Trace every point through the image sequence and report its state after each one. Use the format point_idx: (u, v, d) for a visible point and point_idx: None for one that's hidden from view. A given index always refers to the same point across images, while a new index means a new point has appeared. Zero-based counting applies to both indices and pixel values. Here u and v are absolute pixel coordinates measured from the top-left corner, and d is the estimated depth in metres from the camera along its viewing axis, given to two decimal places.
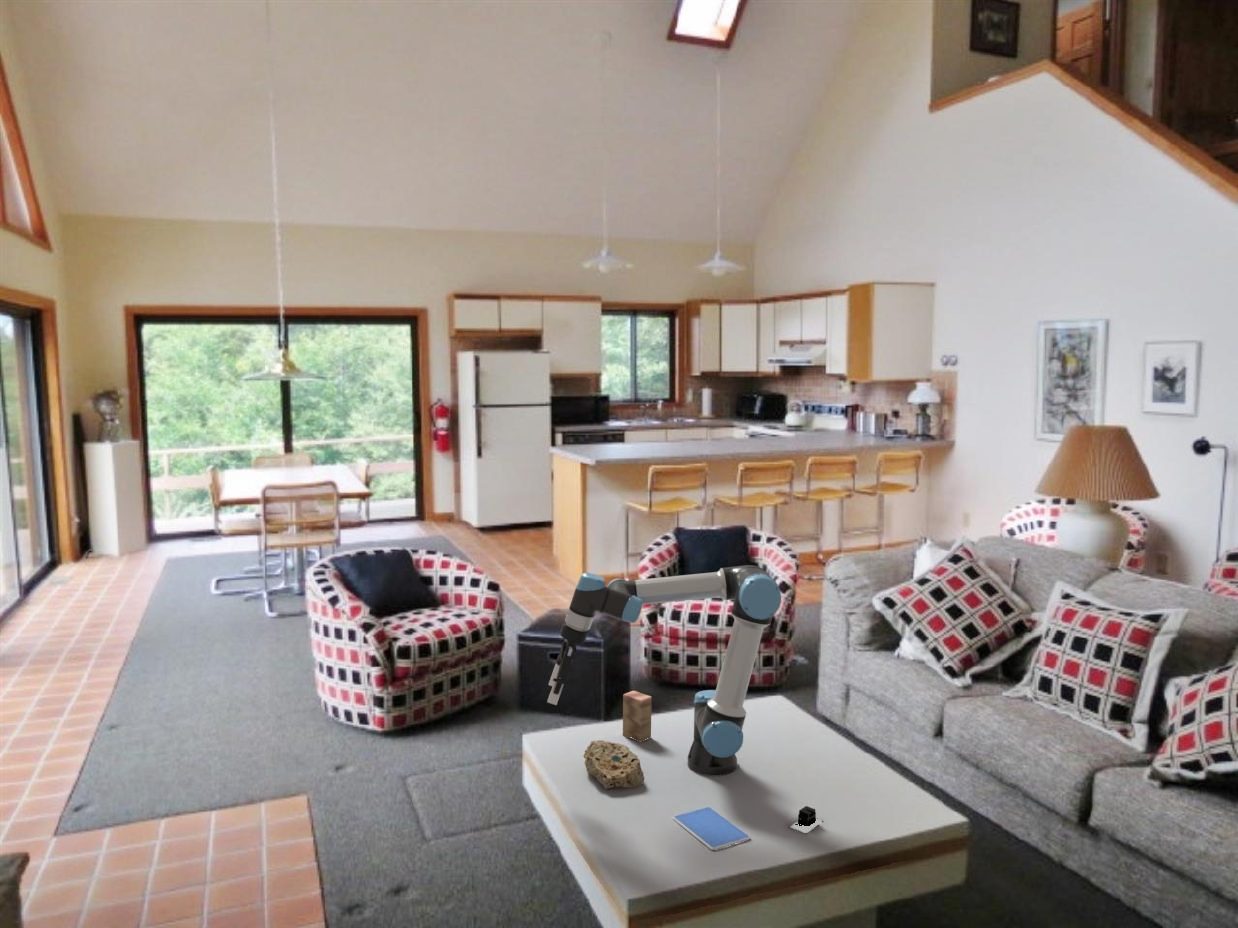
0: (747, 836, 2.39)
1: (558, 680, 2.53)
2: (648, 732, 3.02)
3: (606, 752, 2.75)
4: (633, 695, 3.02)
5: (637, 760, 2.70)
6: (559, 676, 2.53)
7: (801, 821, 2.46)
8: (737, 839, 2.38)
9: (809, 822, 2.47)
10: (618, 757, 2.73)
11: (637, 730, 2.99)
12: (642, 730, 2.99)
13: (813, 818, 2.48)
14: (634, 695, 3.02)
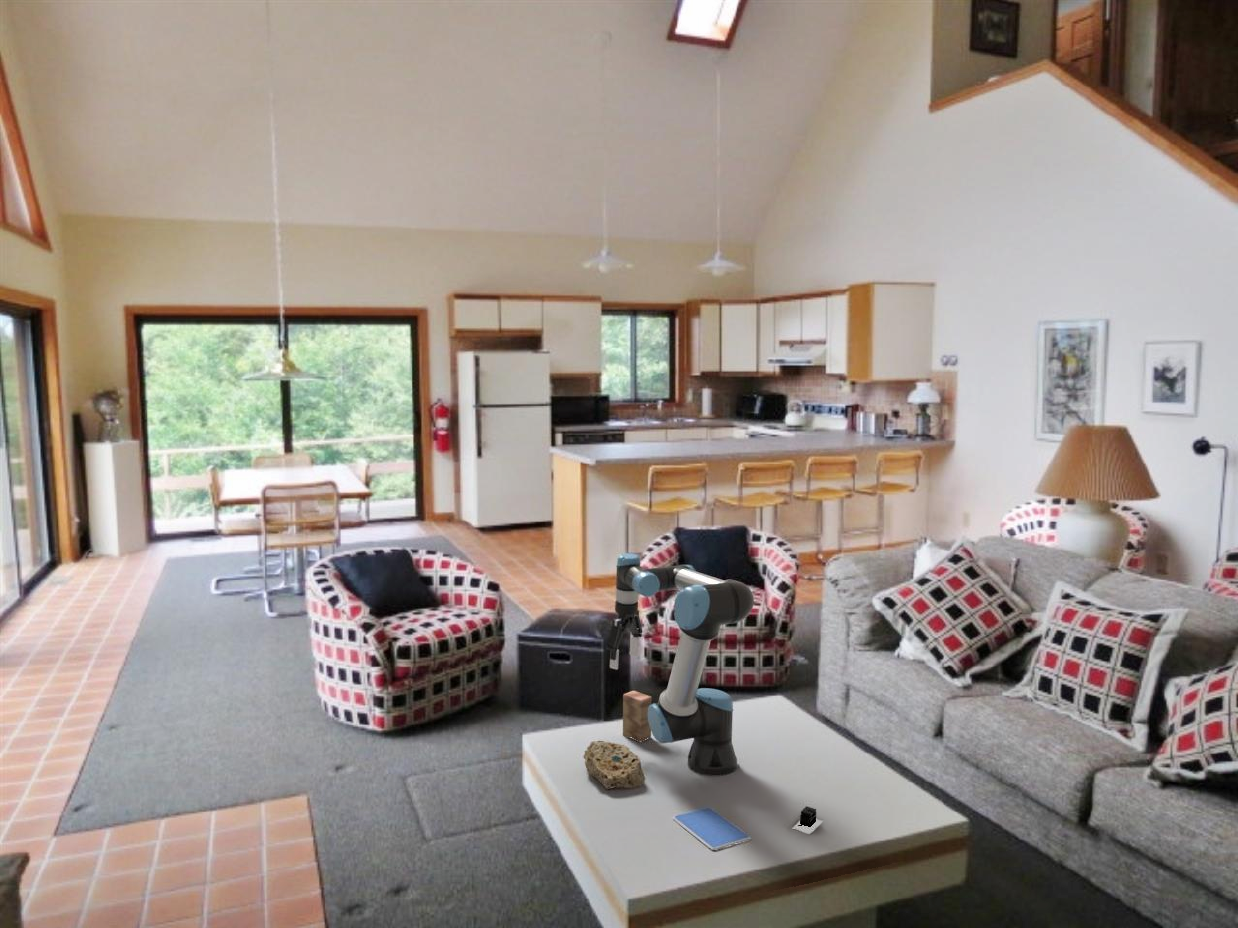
0: (747, 836, 2.39)
1: (607, 647, 2.96)
2: (648, 732, 3.02)
3: (606, 752, 2.75)
4: (633, 695, 3.02)
5: (638, 760, 2.70)
6: (608, 644, 2.96)
7: (803, 822, 2.46)
8: (737, 839, 2.38)
9: None
10: (619, 757, 2.72)
11: (637, 730, 2.99)
12: (642, 730, 2.99)
13: (814, 818, 2.48)
14: (634, 695, 3.02)
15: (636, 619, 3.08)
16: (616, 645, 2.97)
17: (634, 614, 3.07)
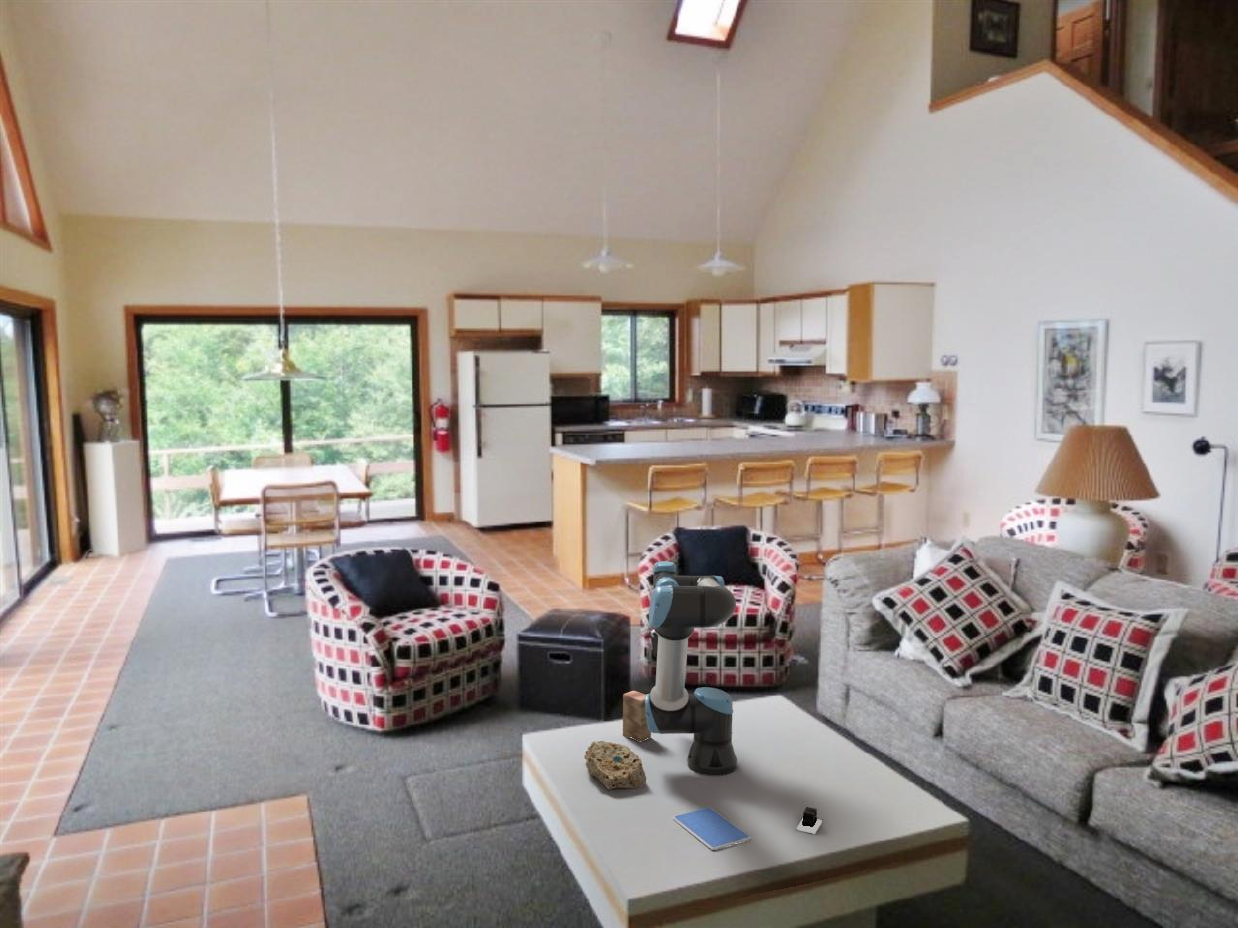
0: (747, 836, 2.39)
1: (654, 654, 3.08)
2: (648, 732, 3.02)
3: (607, 752, 2.74)
4: (633, 695, 3.02)
5: (639, 760, 2.70)
6: (654, 653, 3.08)
7: (806, 823, 2.45)
8: (737, 839, 2.38)
9: None
10: (620, 758, 2.72)
11: (637, 730, 2.99)
12: (642, 730, 2.99)
13: (814, 818, 2.48)
14: (634, 695, 3.02)
15: None
16: None
17: None
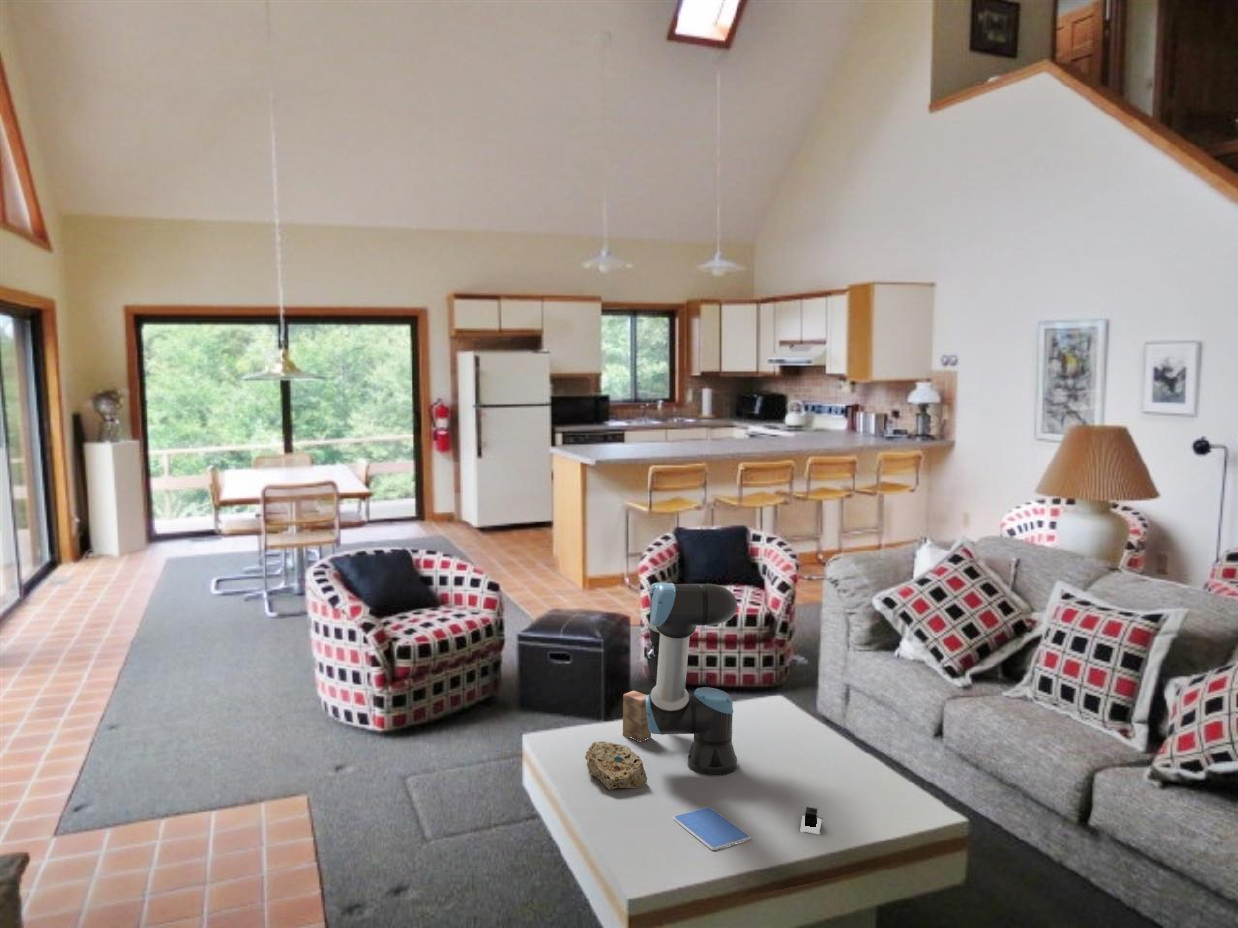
0: (747, 836, 2.39)
1: (651, 676, 3.07)
2: (648, 732, 3.02)
3: (608, 753, 2.74)
4: (633, 695, 3.02)
5: (640, 761, 2.70)
6: (650, 674, 3.07)
7: (808, 823, 2.45)
8: (737, 839, 2.38)
9: None
10: (621, 758, 2.72)
11: (637, 730, 2.99)
12: (642, 730, 2.99)
13: None
14: (634, 695, 3.02)
15: None
16: None
17: None
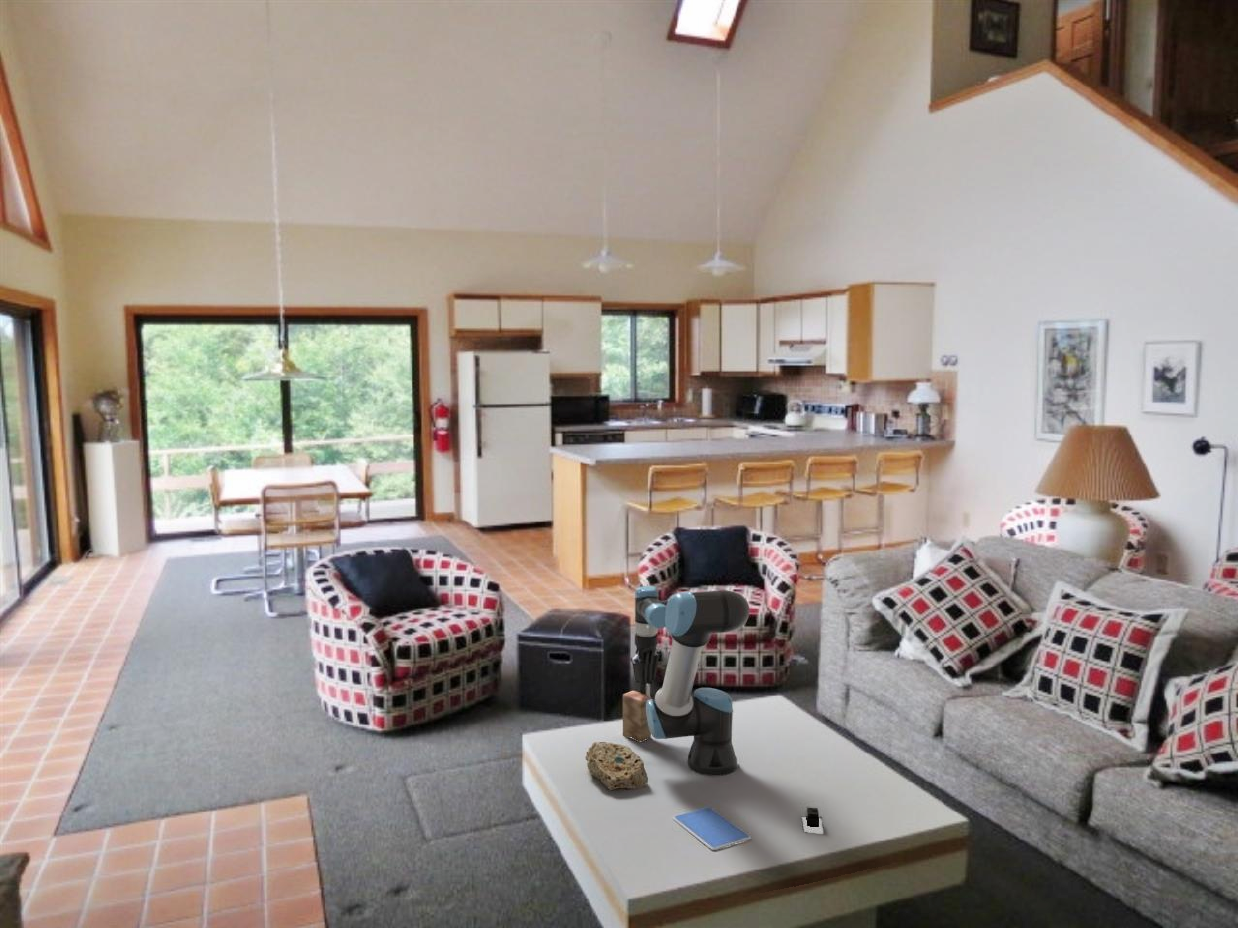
0: (747, 836, 2.39)
1: (636, 681, 3.02)
2: (648, 732, 3.02)
3: (609, 753, 2.74)
4: (632, 695, 3.02)
5: (640, 761, 2.70)
6: (635, 679, 3.02)
7: (811, 824, 2.45)
8: (737, 839, 2.38)
9: None
10: (621, 758, 2.72)
11: (637, 730, 2.99)
12: (642, 730, 2.99)
13: None
14: (633, 695, 3.02)
15: (655, 659, 3.06)
16: (644, 681, 3.02)
17: (655, 652, 3.06)
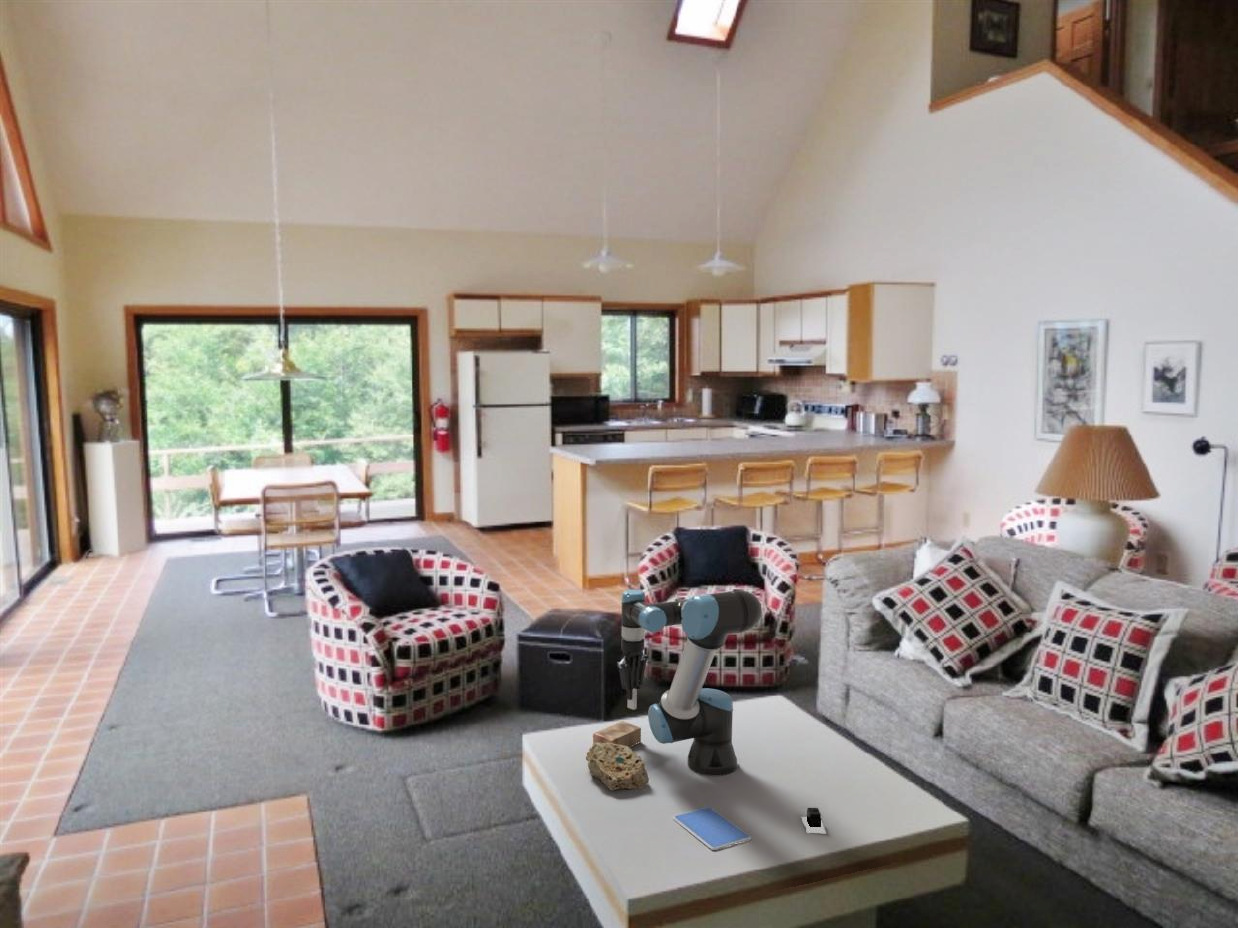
0: (747, 836, 2.39)
1: (623, 686, 2.97)
2: (636, 732, 2.97)
3: (609, 753, 2.74)
4: None
5: (641, 761, 2.70)
6: (622, 684, 2.97)
7: (813, 824, 2.45)
8: (737, 839, 2.38)
9: None
10: (622, 758, 2.72)
11: None
12: (633, 743, 2.96)
13: None
14: None
15: (642, 664, 3.01)
16: (630, 686, 2.97)
17: (642, 657, 3.01)
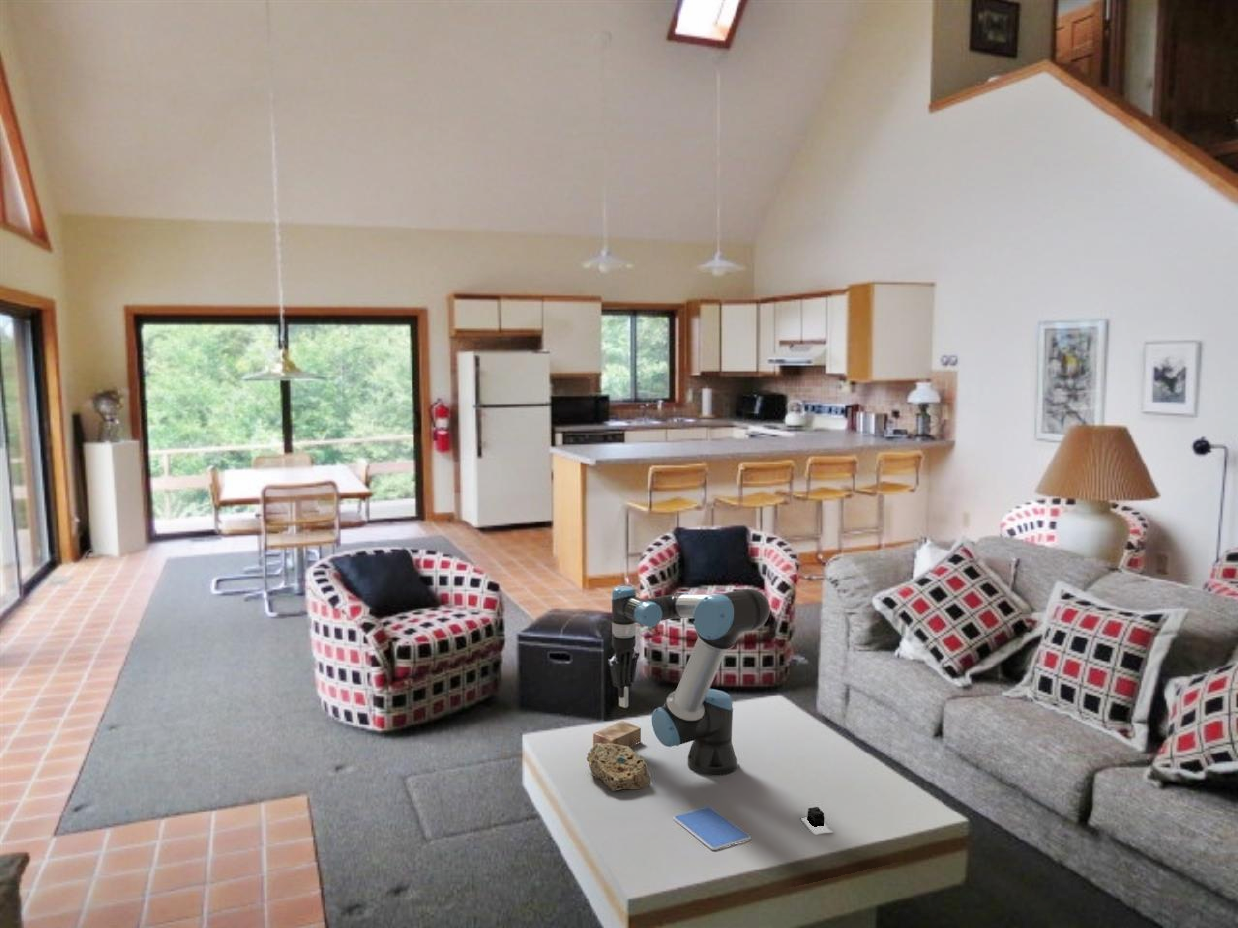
0: (747, 836, 2.39)
1: (614, 684, 2.94)
2: (636, 732, 2.97)
3: (611, 754, 2.73)
4: None
5: (643, 761, 2.69)
6: (613, 682, 2.93)
7: (818, 823, 2.45)
8: (737, 839, 2.38)
9: None
10: (623, 759, 2.71)
11: None
12: (633, 743, 2.96)
13: None
14: None
15: (633, 662, 2.98)
16: (622, 683, 2.94)
17: (633, 654, 2.98)
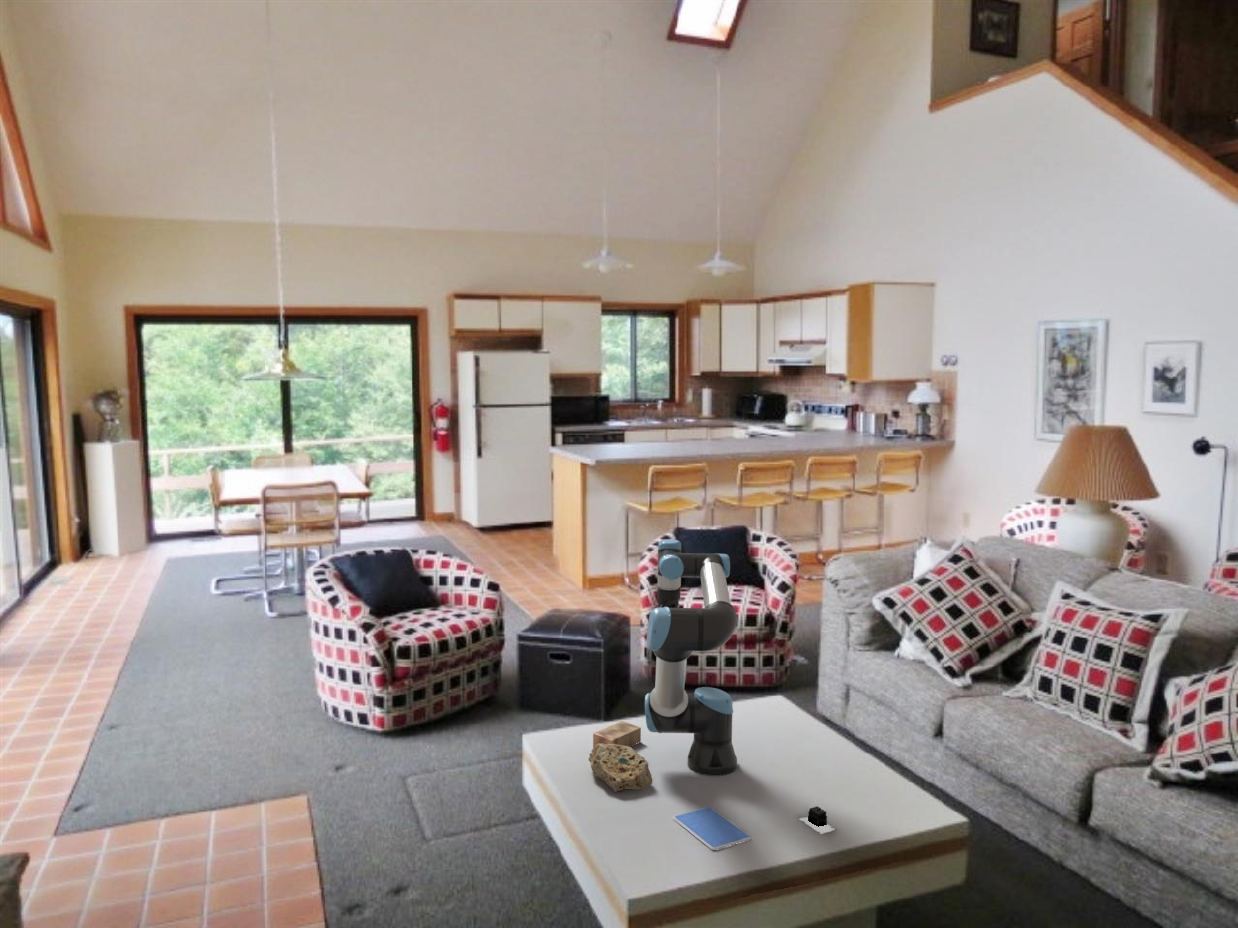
0: (747, 836, 2.39)
1: None
2: (636, 732, 2.97)
3: (613, 754, 2.73)
4: None
5: (645, 762, 2.69)
6: None
7: (821, 823, 2.45)
8: (738, 839, 2.38)
9: (818, 821, 2.48)
10: (625, 759, 2.71)
11: None
12: (633, 743, 2.96)
13: None
14: None
15: None
16: None
17: (678, 607, 3.03)
